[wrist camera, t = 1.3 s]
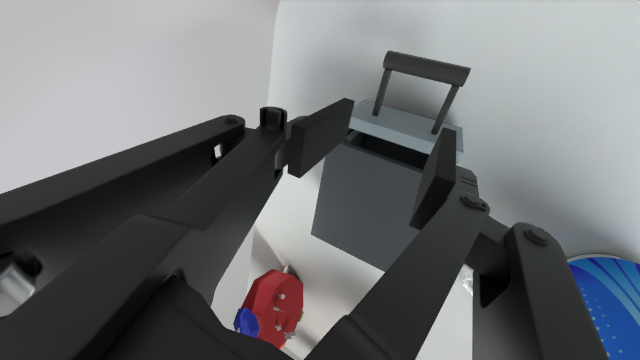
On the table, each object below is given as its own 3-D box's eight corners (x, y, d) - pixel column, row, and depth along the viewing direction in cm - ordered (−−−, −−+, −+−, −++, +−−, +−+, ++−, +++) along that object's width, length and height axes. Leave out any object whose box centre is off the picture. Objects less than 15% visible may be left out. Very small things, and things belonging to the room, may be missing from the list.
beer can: (554, 243, 27) (632, 406, 15) (669, 255, 23) (908, 496, 11) (542, 293, 31) (598, 460, 19) (641, 311, 27) (799, 544, 14)
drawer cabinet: (357, 117, 31) (328, 139, 24) (456, 148, 28) (456, 185, 21) (336, 200, 40) (310, 234, 33) (410, 233, 36) (399, 279, 29)
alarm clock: (274, 255, 56) (206, 336, 41) (304, 262, 52) (240, 355, 37) (290, 297, 62) (235, 381, 47) (318, 307, 58) (268, 402, 43)
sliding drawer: (378, 44, 26) (356, 45, 20) (493, 69, 22) (506, 78, 17) (342, 186, 37) (321, 212, 31) (415, 217, 33) (406, 252, 28)
